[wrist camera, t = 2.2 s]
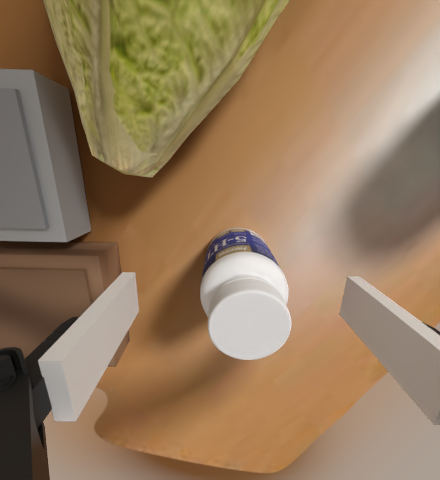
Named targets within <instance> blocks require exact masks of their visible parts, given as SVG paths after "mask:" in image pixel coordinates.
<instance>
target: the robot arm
mask: <svg viewBox="0 0 440 480" xmlns="http://www.w3.org/2000/svg"><path fill="white" fill-rule="evenodd" d="M138 312H139V307H138V296H137V286H136V276H135V272H122V273H121V274H120V275H119V277H118V278H117V279H116V280H115V281H114V282H113V283H112V284H111V285H110V286H109V287H108V288H107V289H106V290H105V291H104V292H103V293H102V294H101V295H100V296H99V297H98V298H97V299H96V301H95V302H94V303H93V304H92V305H91V306H90V307H89V308H88V309H87V310H86V311H85V312H84V313H83V314H82V315H81V316H80V317H72V318H70V319H68V320H67V321H65V322H63V323H62V324H60V325H59V326H58V327H57V328H56V329H55V330H54V331H53V333H52V334H50V335H49V336H48V337H47V338H46V339H45V341H43V342H42V343H41V344H40V345H39V346H38V347H37V348H36V349H35V350H33V351H32V352H31V353H30V354H29V355H28V356H27V357H26V358H25V359H24V355H23V352H22V350H21V349H20V348H17V347H7V348H3V349H0V480H50V478H49V469H48V457H47V446H46V437H45V427H44V423H43V421H44V419H45V418H46V416H47V415H48V414H49V412H50V411H51V410H52V414H53V418H54V421H64V422H66V421H67V422H69V421H70V422H76V420H77V418H78V417H79V415H80V413H81V412H82V410H83V408H84V407H85V405H86V403H87V401H88V400H89V398H90V396H91V394H92V392H93V390H94V389H95V387H96V386H97V384H98V382H99V380H100V379H101V377H102V375H103V373H104V372H105V370H106V368H107V366H108V365H109V363H110V361H111V359H112V358H113V356H114V354H115V352H116V351H117V349H118V347H119V345H120V344H121V342H122V340H123V338H124V337H125V335H126V333H127V331H128V330H129V328H130V326H131V324H132V323H133V321H134V319H135V317H136V316H137V314H138ZM340 316H341V317H342V318H343V319H344V320H345V322H346V323H347V324H348V325H349V326H350V327H351V329H352V330H353V331H354V332H355V333H356V334H357V336H358V337H359V338H360V339H361V340H362V341H363V343H364V344H365V345H366V346H367V347H368V348H369V350H370V351H371V352H372V353H373V354H374V355H375V357H376V358H377V359H378V360H379V361H380V362H381V364H382V365H383V366H384V367H385V368H386V369H387V371H388V372H389V373H390V374H391V375H392V376H393V378H394V379H395V380H396V381H397V382H398V383H399V385H400V386H401V387H402V388H403V389H404V391H406V393H407V394H408V395H409V396H410V397H411V399H412V400H413V401H414V402H415V403H416V404H417V406H418V407H419V408H420V409H421V410H422V412H423V413H424V414H425V415H426V416H427V417H428V418H429V420H430V421H431V422H432V423H433V424H435V425H437V424H438V425H440V332H439V331H438V330H436V329H435V328H433V327H431V326H429V325H427V324H425V323H423V322H421V321H419V320H418V319H417V318H415V317H414V316H413V315H411V314H410V313H409V312H407V311H406V310H405V309H403V308H402V307H400V306H399V305H398V304H396V303H395V302H394V301H392V300H391V299H390V298H388V297H387V296H385V295H384V294H383V293H381V292H380V291H379V290H377V289H376V288H375V287H373V286H372V285H370V284H369V283H368V282H366V281H365V280H364V279H362V278H361V277H358V276H347V281H346V285H345V290H344V295H343V300H342V304H341V309H340Z"/></svg>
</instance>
